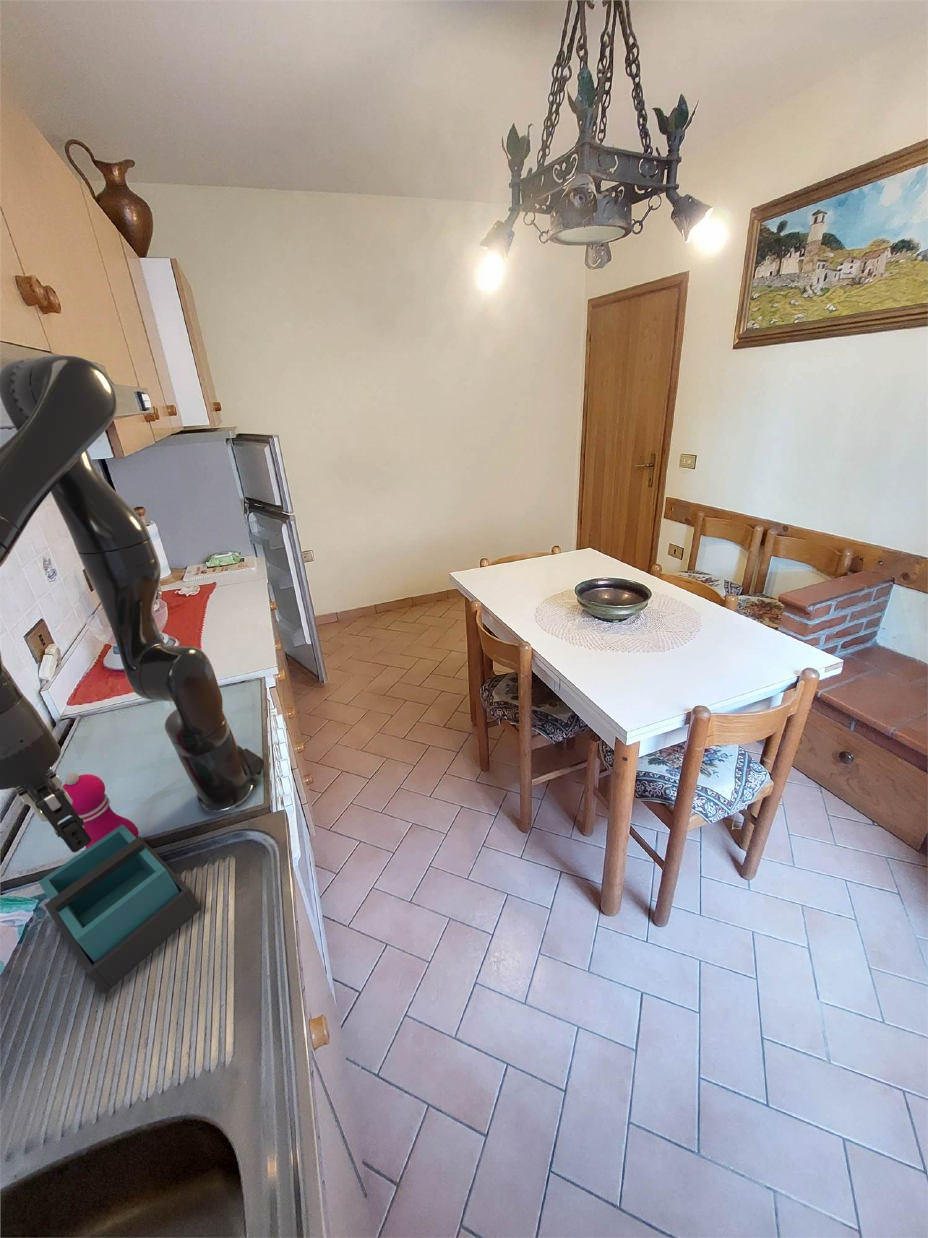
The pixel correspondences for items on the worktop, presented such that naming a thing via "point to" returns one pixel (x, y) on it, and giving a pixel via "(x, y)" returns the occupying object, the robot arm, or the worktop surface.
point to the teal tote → (108, 891)
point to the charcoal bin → (134, 935)
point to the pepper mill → (94, 806)
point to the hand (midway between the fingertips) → (70, 831)
